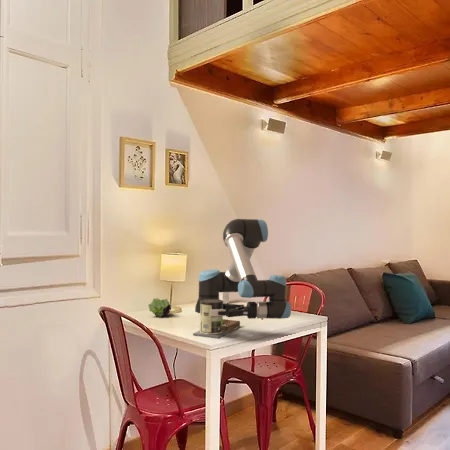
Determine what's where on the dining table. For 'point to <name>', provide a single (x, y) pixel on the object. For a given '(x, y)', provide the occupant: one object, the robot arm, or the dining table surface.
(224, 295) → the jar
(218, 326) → the coffee can
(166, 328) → the dining table surface
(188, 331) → the dining table surface
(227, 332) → the mat
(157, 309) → the fruit
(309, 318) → the dining table surface
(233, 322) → the square wooden frame
